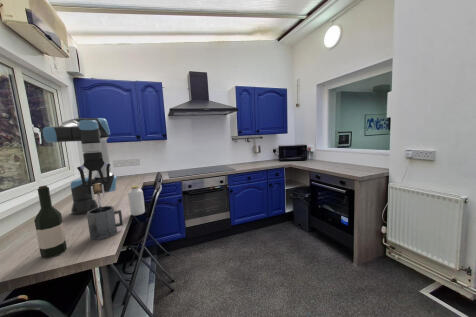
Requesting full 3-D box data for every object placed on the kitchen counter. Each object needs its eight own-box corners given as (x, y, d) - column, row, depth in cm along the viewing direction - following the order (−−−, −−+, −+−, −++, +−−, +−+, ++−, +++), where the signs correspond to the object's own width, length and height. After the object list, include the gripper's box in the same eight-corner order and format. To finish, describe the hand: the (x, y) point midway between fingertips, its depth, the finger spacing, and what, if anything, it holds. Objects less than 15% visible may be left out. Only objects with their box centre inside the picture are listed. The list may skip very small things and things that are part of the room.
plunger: (94, 219, 100) (88, 184, 98) (110, 216, 104) (105, 181, 102) (93, 224, 94) (87, 186, 92) (110, 220, 98) (105, 183, 96)
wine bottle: (52, 248, 89) (41, 184, 86) (71, 246, 90) (61, 183, 86) (35, 259, 81) (22, 189, 77) (56, 257, 81) (44, 187, 78)
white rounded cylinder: (139, 216, 122) (135, 188, 120) (127, 216, 123) (124, 188, 121) (147, 211, 130) (144, 185, 128) (137, 211, 131) (133, 185, 129)
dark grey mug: (91, 233, 102) (87, 209, 100) (122, 225, 109) (119, 203, 108) (89, 242, 92) (85, 216, 91) (124, 233, 100) (120, 208, 98)
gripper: (69, 154, 88) (76, 204, 90) (112, 150, 97) (118, 196, 99) (71, 153, 94) (78, 200, 96) (112, 150, 103) (118, 193, 106)
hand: (99, 198), depth 98 cm, fingers closed on plunger, 4 cm apart
